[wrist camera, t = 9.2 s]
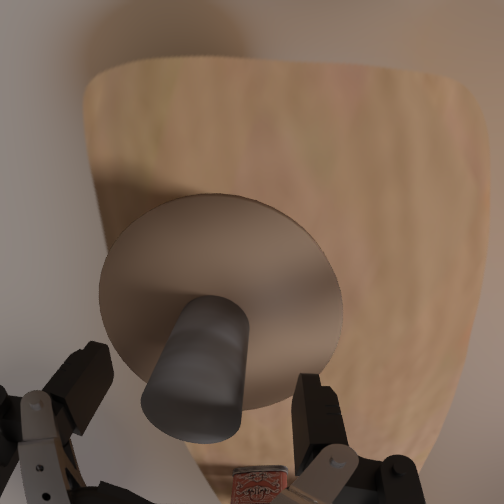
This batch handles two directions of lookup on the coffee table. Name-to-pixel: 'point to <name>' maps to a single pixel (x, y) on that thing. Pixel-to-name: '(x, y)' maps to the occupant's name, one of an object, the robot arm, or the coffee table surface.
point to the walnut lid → (218, 310)
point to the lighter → (258, 484)
